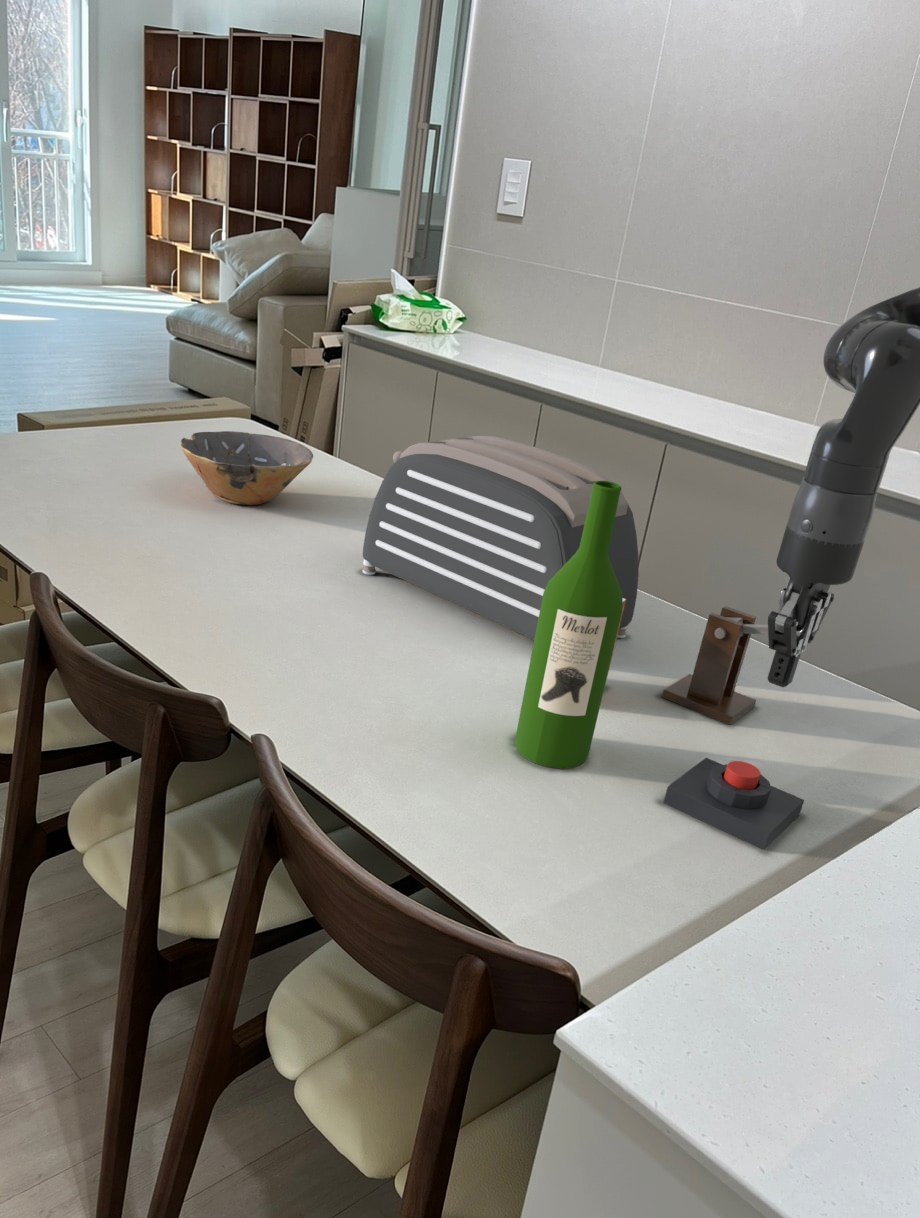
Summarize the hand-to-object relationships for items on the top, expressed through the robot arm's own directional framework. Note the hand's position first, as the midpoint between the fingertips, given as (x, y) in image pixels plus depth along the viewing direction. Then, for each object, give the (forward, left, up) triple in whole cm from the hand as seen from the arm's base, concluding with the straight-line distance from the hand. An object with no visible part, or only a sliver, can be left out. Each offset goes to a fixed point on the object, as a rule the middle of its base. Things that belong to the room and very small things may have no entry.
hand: (778, 682), depth 114 cm
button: (0, +3, -12) cm, 12 cm away
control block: (0, +3, -15) cm, 15 cm away
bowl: (+113, -28, -15) cm, 117 cm away
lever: (+9, -21, -4) cm, 23 cm away
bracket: (+14, -21, -15) cm, 30 cm away
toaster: (+55, -25, -15) cm, 62 cm away
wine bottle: (+21, +8, -15) cm, 27 cm away
